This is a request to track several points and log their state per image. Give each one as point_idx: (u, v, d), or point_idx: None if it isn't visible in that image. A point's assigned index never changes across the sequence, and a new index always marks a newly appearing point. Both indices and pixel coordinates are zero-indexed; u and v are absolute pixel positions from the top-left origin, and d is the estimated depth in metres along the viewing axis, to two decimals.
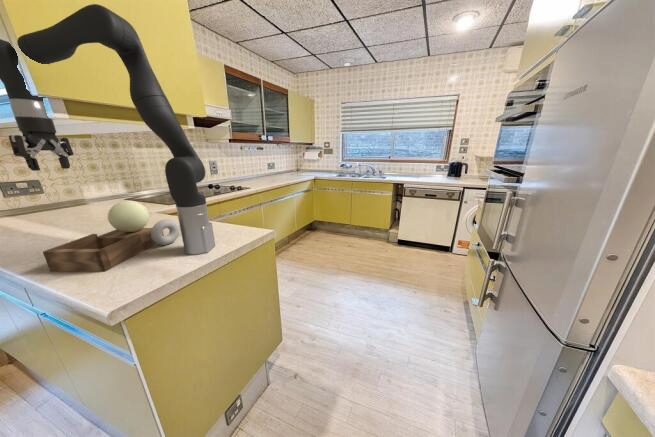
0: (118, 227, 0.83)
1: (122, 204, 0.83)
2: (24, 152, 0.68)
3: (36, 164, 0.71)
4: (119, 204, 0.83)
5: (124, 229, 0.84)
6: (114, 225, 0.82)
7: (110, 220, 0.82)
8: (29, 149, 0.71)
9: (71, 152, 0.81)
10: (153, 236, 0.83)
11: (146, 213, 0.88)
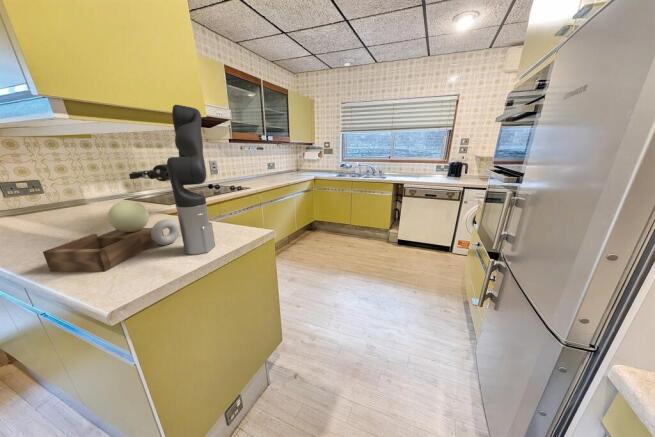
0: (118, 227, 0.83)
1: (122, 204, 0.83)
2: (135, 172, 0.97)
3: None
4: (119, 204, 0.83)
5: (124, 229, 0.84)
6: (114, 225, 0.82)
7: (110, 220, 0.82)
8: None
9: (164, 172, 0.97)
10: (153, 236, 0.83)
11: (146, 213, 0.88)
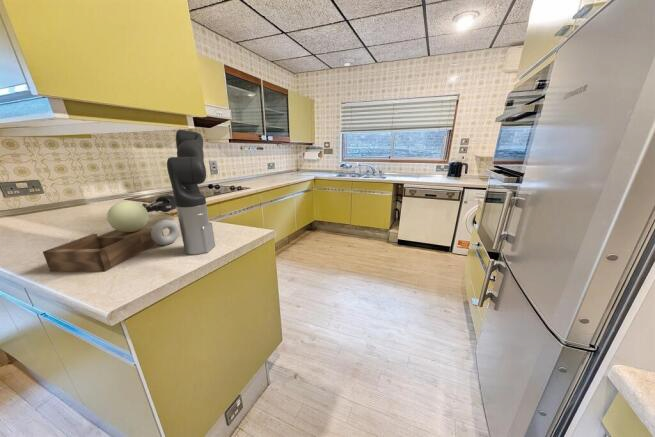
0: (118, 228, 0.83)
1: (120, 204, 0.83)
2: (144, 205, 0.97)
3: None
4: (118, 205, 0.83)
5: (124, 230, 0.84)
6: (114, 226, 0.82)
7: (110, 221, 0.82)
8: None
9: (157, 205, 0.97)
10: (153, 236, 0.83)
11: (145, 213, 0.88)
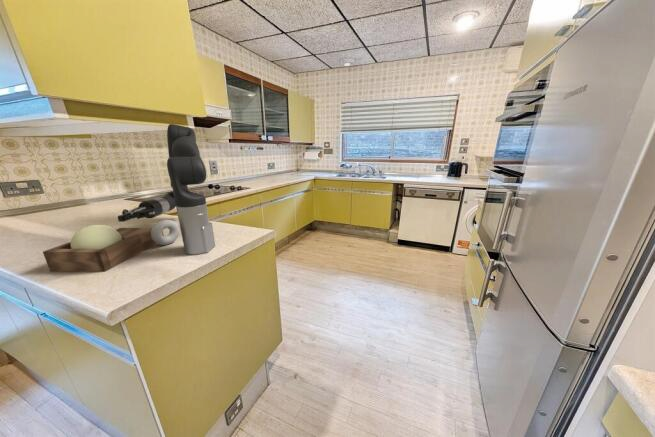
0: None
1: None
2: (125, 211, 0.88)
3: None
4: None
5: None
6: None
7: None
8: None
9: (138, 212, 0.88)
10: (153, 236, 0.83)
11: None
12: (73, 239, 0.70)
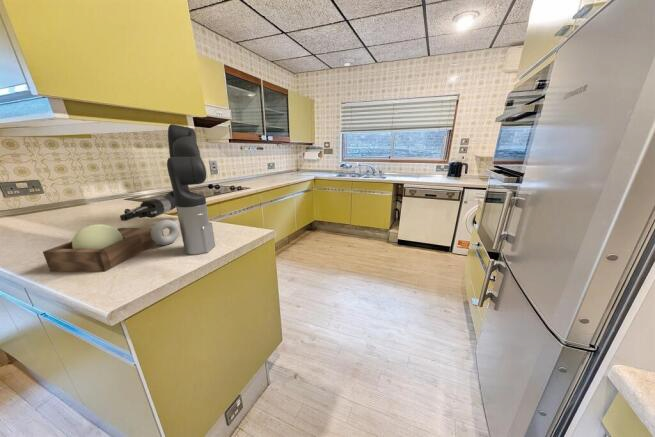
0: None
1: None
2: (127, 211, 0.89)
3: (124, 214, 0.86)
4: None
5: None
6: None
7: None
8: None
9: (140, 211, 0.89)
10: (153, 236, 0.83)
11: None
12: (75, 237, 0.70)
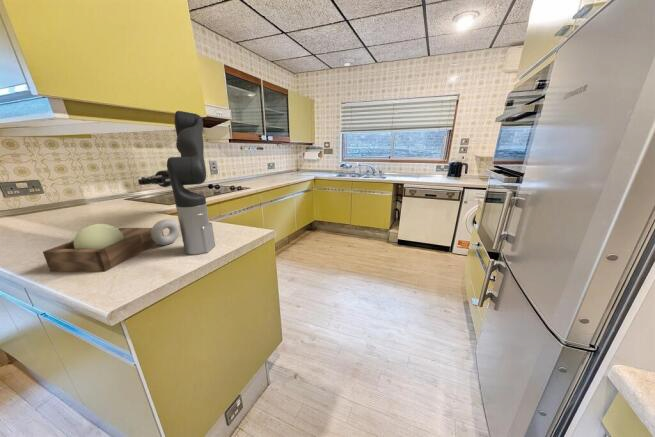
0: None
1: None
2: (144, 177, 0.97)
3: None
4: None
5: None
6: None
7: None
8: None
9: (156, 177, 0.97)
10: (153, 236, 0.83)
11: None
12: (77, 235, 0.71)
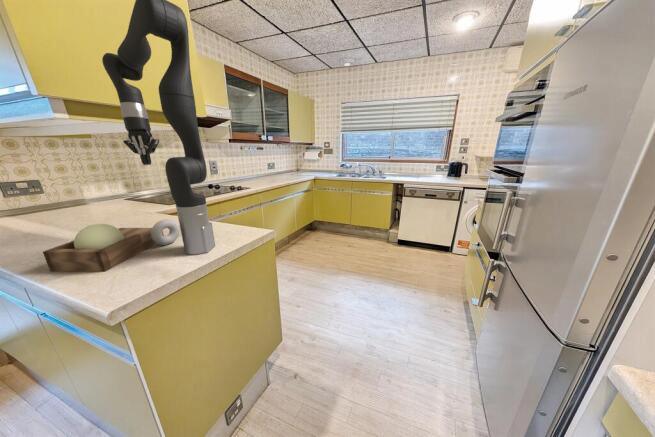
0: None
1: None
2: (134, 150, 0.87)
3: (142, 160, 0.88)
4: None
5: None
6: None
7: None
8: None
9: (148, 150, 0.87)
10: (153, 236, 0.83)
11: None
12: (77, 235, 0.71)
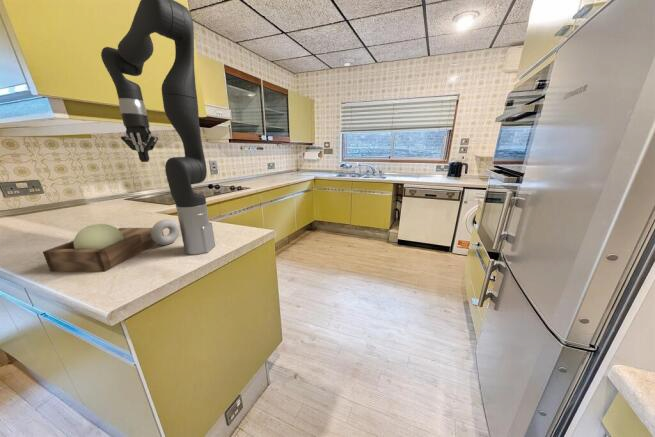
0: None
1: None
2: (132, 147, 0.86)
3: (140, 157, 0.87)
4: None
5: None
6: None
7: None
8: None
9: (147, 147, 0.86)
10: (153, 236, 0.83)
11: None
12: (77, 235, 0.71)
